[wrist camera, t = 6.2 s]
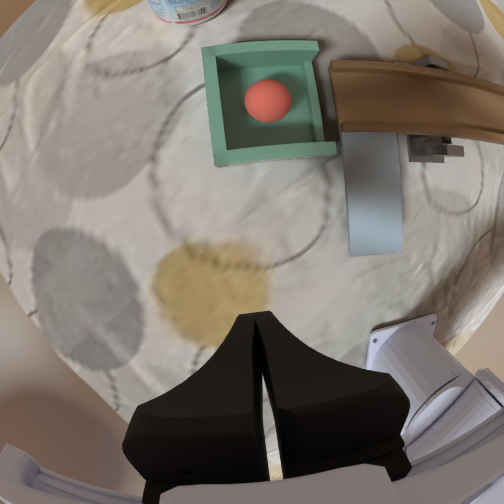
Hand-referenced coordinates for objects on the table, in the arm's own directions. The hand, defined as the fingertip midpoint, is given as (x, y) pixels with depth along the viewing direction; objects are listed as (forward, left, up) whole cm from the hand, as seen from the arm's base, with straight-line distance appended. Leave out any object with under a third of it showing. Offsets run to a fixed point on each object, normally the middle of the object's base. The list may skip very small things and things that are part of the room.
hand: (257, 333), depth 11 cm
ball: (+11, -3, -8) cm, 14 cm away
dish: (+11, -3, -10) cm, 15 cm away
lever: (+7, -16, -7) cm, 19 cm away
